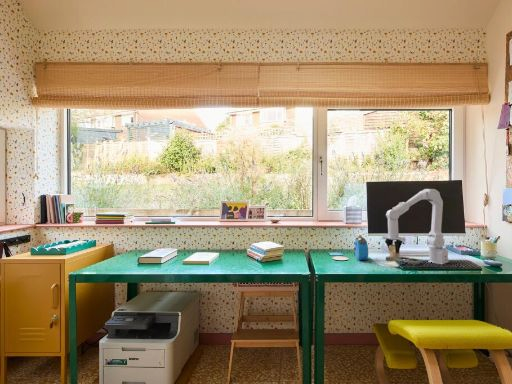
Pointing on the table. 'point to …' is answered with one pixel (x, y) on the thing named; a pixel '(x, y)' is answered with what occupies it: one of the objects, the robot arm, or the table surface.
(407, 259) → the rail
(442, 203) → the robot arm
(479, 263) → the table surface
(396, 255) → the peg
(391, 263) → the mat
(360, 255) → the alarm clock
